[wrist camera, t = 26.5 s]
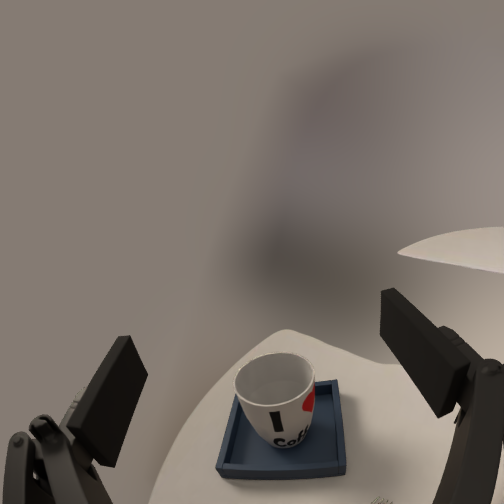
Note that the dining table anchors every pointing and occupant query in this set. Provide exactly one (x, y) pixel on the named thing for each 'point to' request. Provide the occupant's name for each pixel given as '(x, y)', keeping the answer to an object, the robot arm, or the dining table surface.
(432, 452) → the dining table surface
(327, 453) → the tray
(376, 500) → the fork
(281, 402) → the cup
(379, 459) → the dining table surface
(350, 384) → the dining table surface
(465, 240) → the dining table surface
